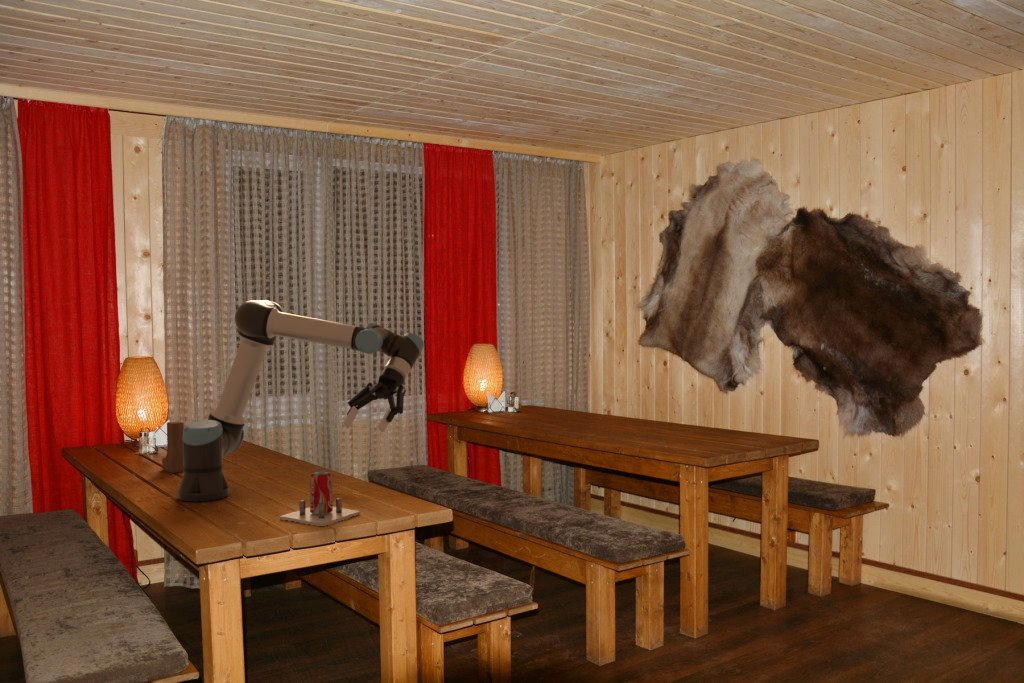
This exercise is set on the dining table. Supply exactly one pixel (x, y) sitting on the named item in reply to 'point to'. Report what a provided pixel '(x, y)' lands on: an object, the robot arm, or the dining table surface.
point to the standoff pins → (322, 507)
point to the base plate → (315, 519)
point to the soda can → (321, 491)
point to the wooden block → (174, 448)
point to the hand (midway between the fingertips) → (363, 427)
